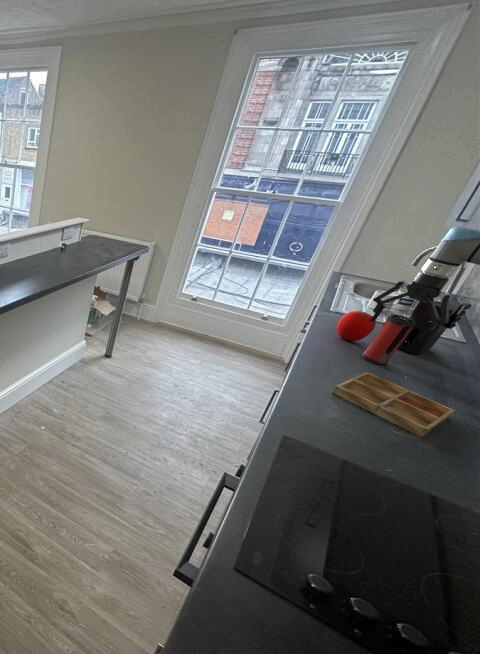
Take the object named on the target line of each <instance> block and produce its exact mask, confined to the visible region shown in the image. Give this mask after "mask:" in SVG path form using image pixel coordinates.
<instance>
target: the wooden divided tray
mask: <svg viewBox="0 0 480 654" xmlns="http://www.w3.org/2000/svg"><path fill="white" fill-rule="evenodd" d="M332 393H334V394H336V395H338V396H340V397H342V398H344V399H346V400H348V401H351V402H353V403H355V404H358V405H360V406H362V407H364V408H366V409H368V410H371V411H373V412H375V413H377V414H379V415H381V416H383V417H385V418H387V419H388V420H391V421H392V422H394V423H396V424H398V425H399V426H400V427H402V428H403V429H402V428H401V429H402V430H404V429H405V430H404V431H406V430H407V431H406V432H408V431H409V432H408V433H410V432H411V433H410V434H412V435H414V436H415V437H418V438H421V439H422V438H423V437H424V436H426V435H427V434H428V433H430V432H431V431H433V430H434V429H436V428H437V427H438V426H440V425H442V424H443V423H445V421H447V420H448V419H449V418H450V417H451V416H452V415H453V414H454V413H455V412H456V410H455V409H453V408H451V407H448V406H446V405H444V404H442V403H439V402H436V401H435V400H432V399H430V398H427V397H425V396H423V395H421V394H419V393H417V392H414V391H412V390H410V389H407V388H404V387H402V386H400V385H398V384H396V383H394V382H391V381H389V380H386V379H384V378H382V377H379V376H378V375H375V374H373V373H370V372H368V371H366V372H364V373H362V374H359V375H358V376H355V377H352V378H351V379H348V380H347V381H344V382H342V383H339V384H337V385H336V386H335V387H334V389H333V390H332V392H331V394H332ZM334 394H333V395H334ZM336 395H335V396H336ZM338 396H337V397H338ZM340 397H339V398H340ZM342 398H341V399H342ZM344 399H343V400H344ZM346 400H345V401H346ZM348 401H347V402H348ZM379 402H380V403H381V404H380V405H378V403H379ZM386 407H391V408H392V407H393V410H392V411H390V410H388V409H386ZM394 408H395V411H394ZM439 424H440V425H439ZM400 427H399V428H400ZM432 429H433V430H432ZM425 434H426V435H425Z"/></svg>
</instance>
